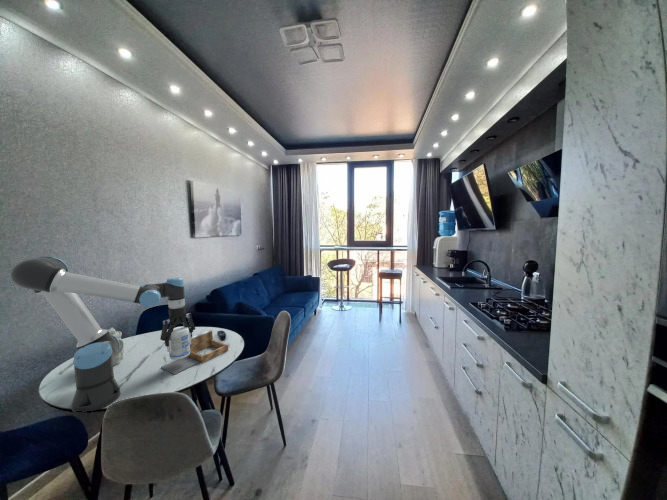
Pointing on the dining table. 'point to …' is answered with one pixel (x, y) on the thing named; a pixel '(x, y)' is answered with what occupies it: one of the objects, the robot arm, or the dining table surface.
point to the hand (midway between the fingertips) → (179, 347)
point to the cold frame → (204, 342)
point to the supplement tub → (179, 343)
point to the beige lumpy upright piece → (121, 344)
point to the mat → (179, 365)
